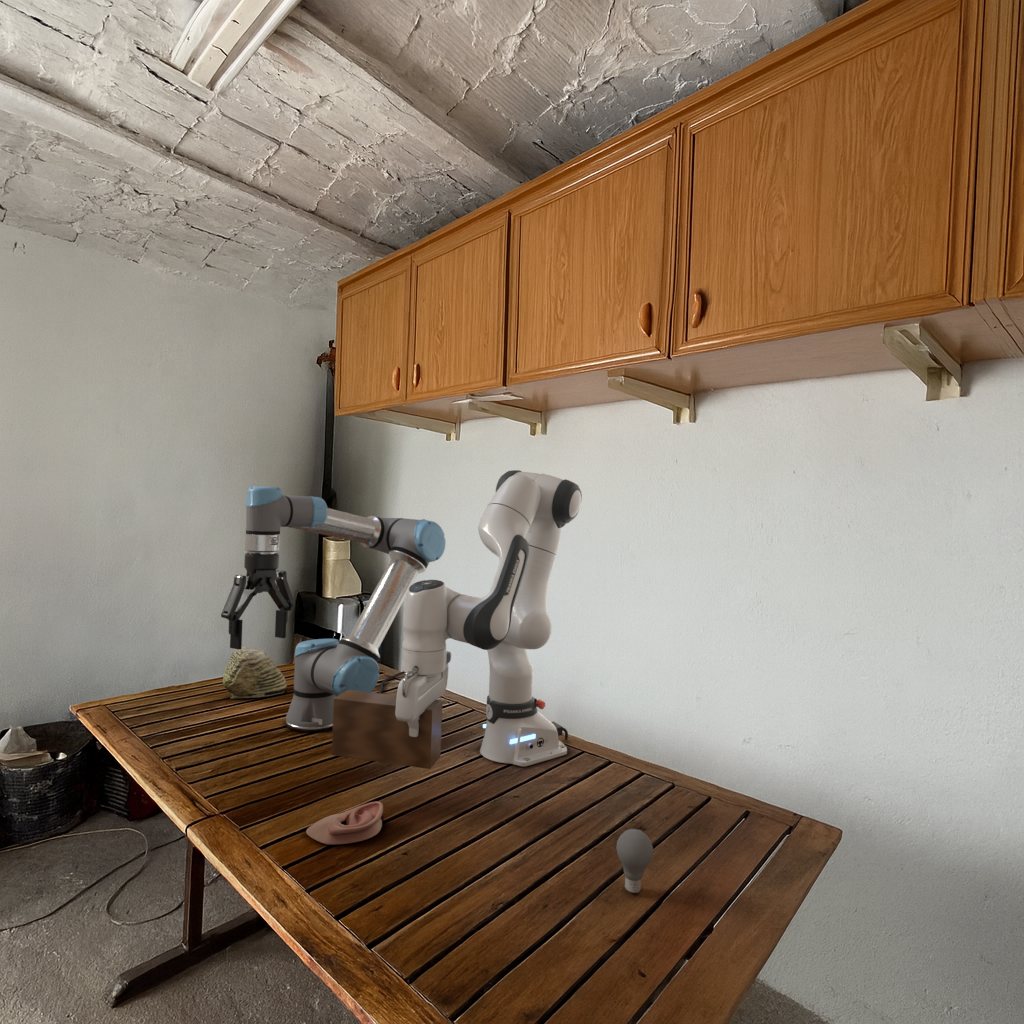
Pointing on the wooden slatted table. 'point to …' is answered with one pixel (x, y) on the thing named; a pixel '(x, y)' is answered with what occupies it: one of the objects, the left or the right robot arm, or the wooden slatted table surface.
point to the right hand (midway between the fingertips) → (421, 728)
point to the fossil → (252, 674)
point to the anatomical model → (348, 825)
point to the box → (384, 730)
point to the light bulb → (634, 857)
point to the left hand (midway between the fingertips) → (258, 642)
